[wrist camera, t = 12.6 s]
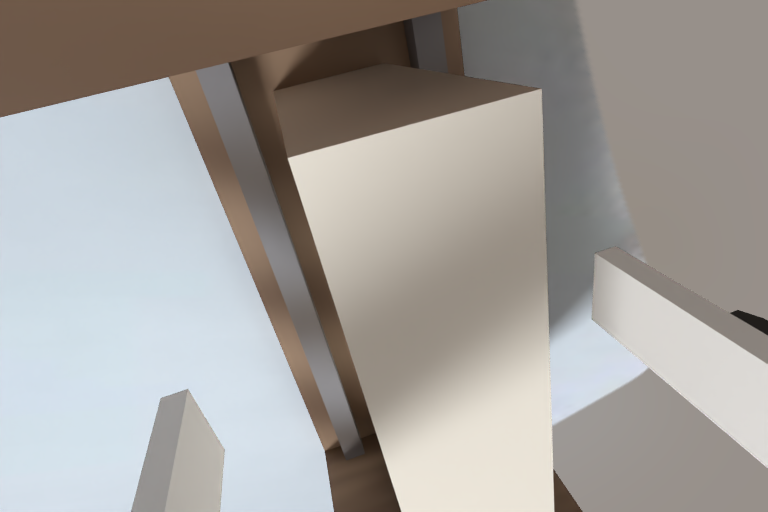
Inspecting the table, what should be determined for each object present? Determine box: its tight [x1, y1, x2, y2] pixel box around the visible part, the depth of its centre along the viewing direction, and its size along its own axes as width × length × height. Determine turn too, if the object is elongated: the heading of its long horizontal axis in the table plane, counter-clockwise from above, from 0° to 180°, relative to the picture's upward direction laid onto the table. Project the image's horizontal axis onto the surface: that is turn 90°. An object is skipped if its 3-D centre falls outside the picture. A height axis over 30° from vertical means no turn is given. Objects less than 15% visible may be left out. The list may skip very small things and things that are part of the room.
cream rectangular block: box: [273, 63, 554, 512], centre depth 15 cm, size 16×4×10 cm, turn 12°
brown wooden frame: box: [0, 0, 582, 512], centre depth 14 cm, size 22×10×14 cm, turn 12°
